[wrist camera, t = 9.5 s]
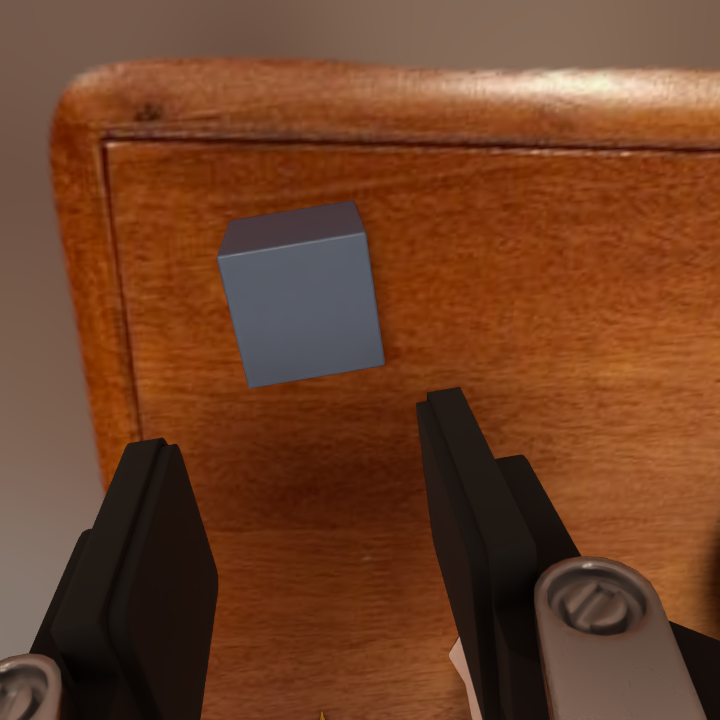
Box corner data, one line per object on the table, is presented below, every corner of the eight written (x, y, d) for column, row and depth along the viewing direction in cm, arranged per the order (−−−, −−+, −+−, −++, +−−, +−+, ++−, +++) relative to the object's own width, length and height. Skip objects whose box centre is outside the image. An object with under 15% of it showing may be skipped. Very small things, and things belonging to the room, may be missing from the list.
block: (255, 335, 23) (248, 389, 20) (228, 220, 22) (215, 256, 18) (371, 316, 23) (385, 366, 20) (353, 199, 22) (366, 231, 18)
